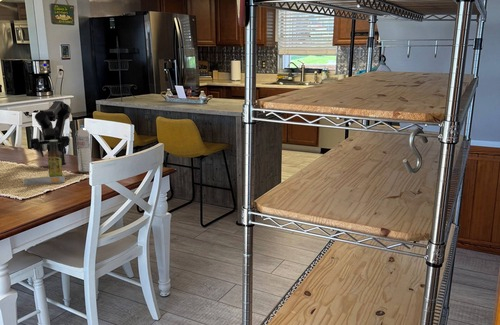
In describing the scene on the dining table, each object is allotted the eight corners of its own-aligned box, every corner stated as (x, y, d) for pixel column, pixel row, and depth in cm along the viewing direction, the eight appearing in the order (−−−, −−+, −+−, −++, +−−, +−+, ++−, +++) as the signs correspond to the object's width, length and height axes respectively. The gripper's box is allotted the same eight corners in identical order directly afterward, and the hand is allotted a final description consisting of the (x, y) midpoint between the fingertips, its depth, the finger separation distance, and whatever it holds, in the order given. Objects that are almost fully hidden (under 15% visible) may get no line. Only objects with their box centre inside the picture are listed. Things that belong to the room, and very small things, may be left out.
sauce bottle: (47, 180, 220) (43, 141, 215) (51, 177, 226) (48, 139, 221) (61, 180, 221) (57, 141, 216) (64, 177, 227) (61, 139, 222)
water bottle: (75, 171, 237) (71, 125, 231) (85, 168, 243) (82, 123, 237) (84, 173, 234) (81, 126, 228) (94, 170, 240) (91, 124, 234)
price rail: (24, 185, 212) (23, 179, 211) (24, 185, 213) (23, 178, 212) (64, 182, 217) (63, 176, 216) (64, 182, 218) (64, 175, 217)
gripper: (28, 123, 223) (32, 148, 217) (67, 120, 233) (73, 145, 226) (28, 135, 232) (32, 160, 225) (66, 133, 241) (71, 156, 235)
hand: (52, 155), depth 228 cm, fingers open, 9 cm apart
